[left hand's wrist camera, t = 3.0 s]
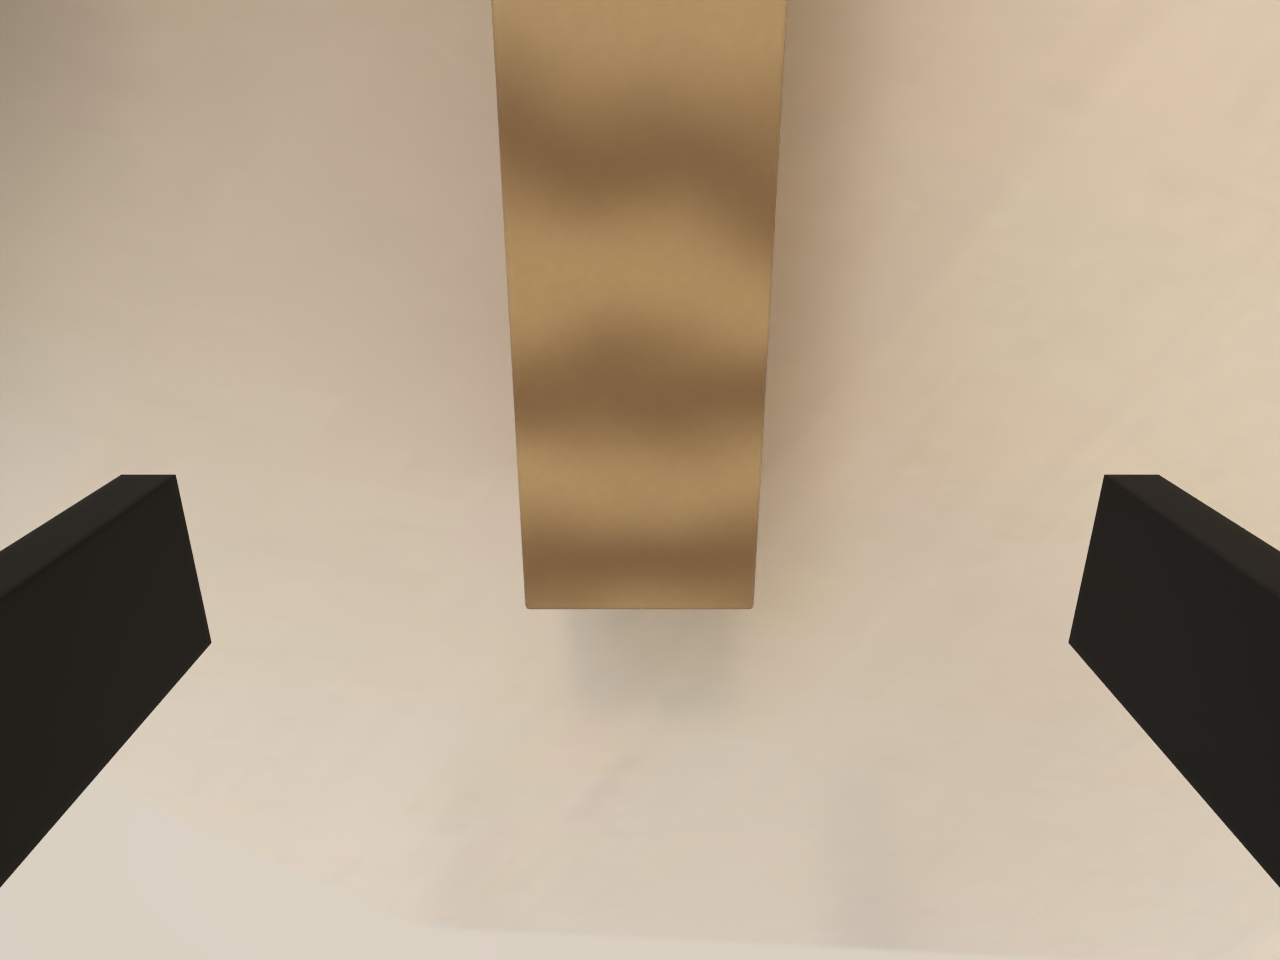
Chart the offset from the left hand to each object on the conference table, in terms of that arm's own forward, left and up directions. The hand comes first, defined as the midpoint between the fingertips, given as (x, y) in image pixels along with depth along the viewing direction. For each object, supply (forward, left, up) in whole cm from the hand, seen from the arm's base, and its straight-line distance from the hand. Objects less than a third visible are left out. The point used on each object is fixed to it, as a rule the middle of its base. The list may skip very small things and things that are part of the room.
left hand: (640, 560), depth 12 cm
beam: (+10, +31, -15) cm, 36 cm away
